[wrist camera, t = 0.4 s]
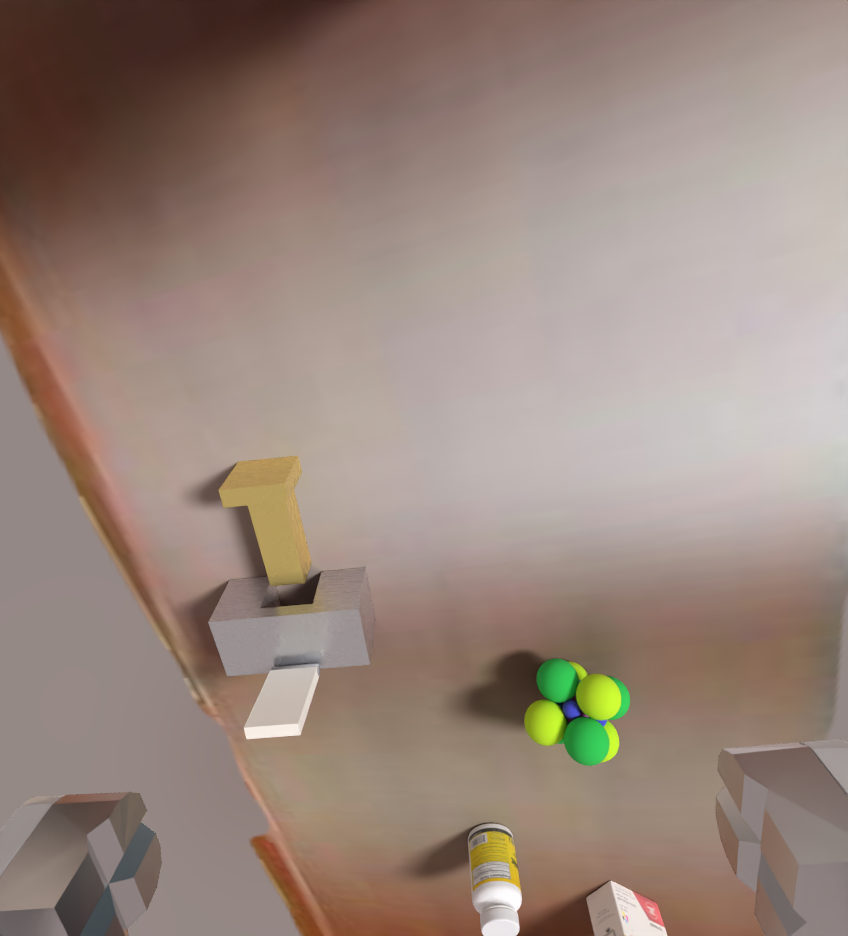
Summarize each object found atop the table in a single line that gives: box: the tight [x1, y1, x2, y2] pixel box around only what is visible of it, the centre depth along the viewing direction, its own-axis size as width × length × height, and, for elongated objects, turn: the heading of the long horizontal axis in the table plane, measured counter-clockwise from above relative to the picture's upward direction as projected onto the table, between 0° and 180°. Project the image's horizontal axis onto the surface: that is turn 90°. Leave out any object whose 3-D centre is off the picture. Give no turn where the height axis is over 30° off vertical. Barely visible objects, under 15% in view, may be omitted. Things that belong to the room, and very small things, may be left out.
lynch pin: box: [218, 456, 311, 586], centre depth 47 cm, size 10×5×5 cm, turn 6°
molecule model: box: [524, 658, 630, 766], centre depth 52 cm, size 8×8×8 cm
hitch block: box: [208, 568, 375, 676], centre depth 50 cm, size 6×12×6 cm, turn 96°
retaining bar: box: [244, 663, 320, 739], centre depth 45 cm, size 1×4×8 cm, turn 96°
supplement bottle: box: [468, 823, 522, 936], centre depth 64 cm, size 5×5×10 cm
